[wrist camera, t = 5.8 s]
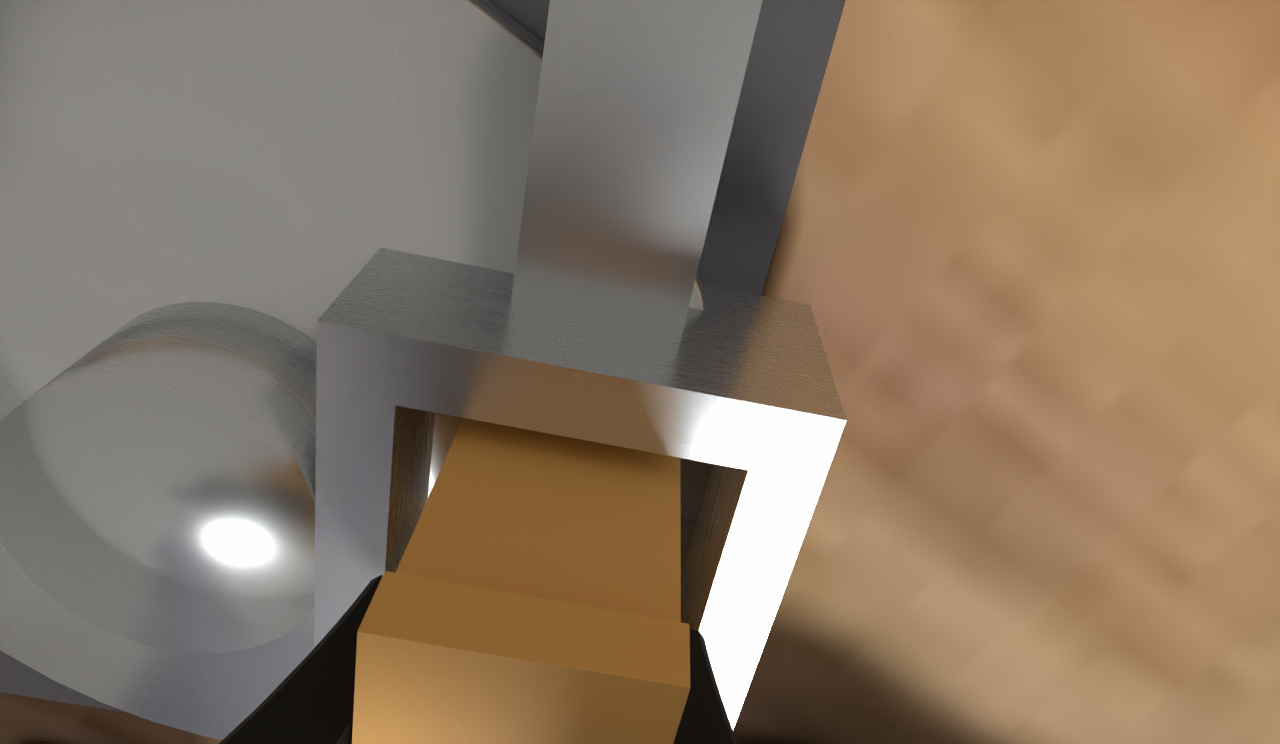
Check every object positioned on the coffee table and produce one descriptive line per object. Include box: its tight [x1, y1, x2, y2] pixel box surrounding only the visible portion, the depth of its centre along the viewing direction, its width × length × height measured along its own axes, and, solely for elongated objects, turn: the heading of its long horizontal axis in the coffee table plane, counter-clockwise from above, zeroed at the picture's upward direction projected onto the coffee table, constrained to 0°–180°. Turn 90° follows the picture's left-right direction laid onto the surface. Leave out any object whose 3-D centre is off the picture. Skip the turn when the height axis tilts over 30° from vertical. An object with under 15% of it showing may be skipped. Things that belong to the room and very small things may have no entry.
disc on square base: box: [0, 0, 846, 740], centre depth 14 cm, size 18×17×4 cm
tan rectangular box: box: [352, 418, 690, 744], centre depth 11 cm, size 5×3×6 cm, turn 169°
